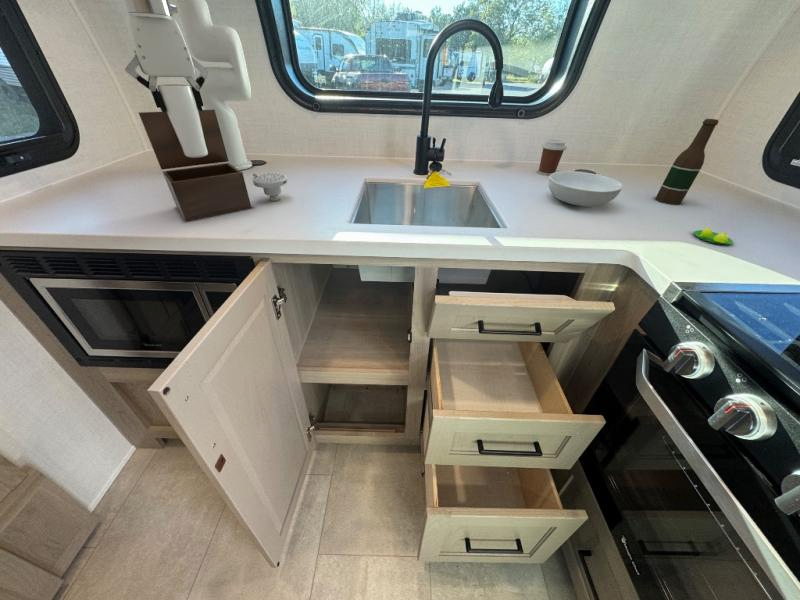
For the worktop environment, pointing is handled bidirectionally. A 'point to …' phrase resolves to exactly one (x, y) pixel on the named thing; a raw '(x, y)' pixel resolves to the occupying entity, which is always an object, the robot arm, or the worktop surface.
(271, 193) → the showerhead
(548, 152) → the coffee cup
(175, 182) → the chest
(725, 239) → the green disc yellow mounds
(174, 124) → the drinking glass
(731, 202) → the worktop surface
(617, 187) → the serving bowl
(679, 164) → the beer bottle
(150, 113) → the lid
